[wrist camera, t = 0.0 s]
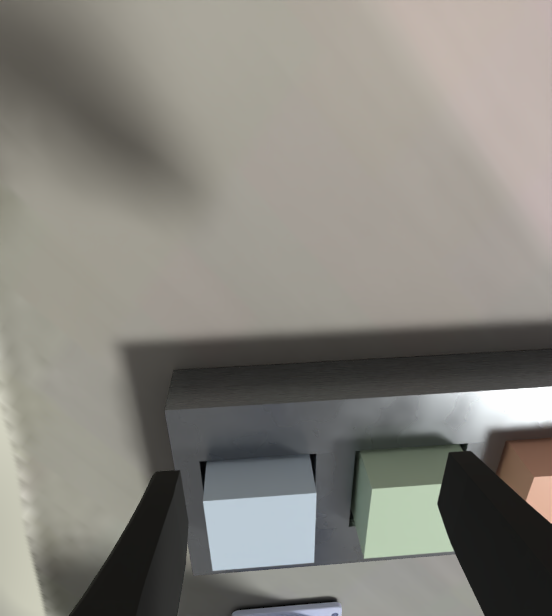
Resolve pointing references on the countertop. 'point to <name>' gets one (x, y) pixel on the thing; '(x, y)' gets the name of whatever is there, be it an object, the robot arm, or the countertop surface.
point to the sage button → (400, 500)
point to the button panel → (349, 425)
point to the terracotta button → (529, 472)
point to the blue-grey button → (260, 511)
